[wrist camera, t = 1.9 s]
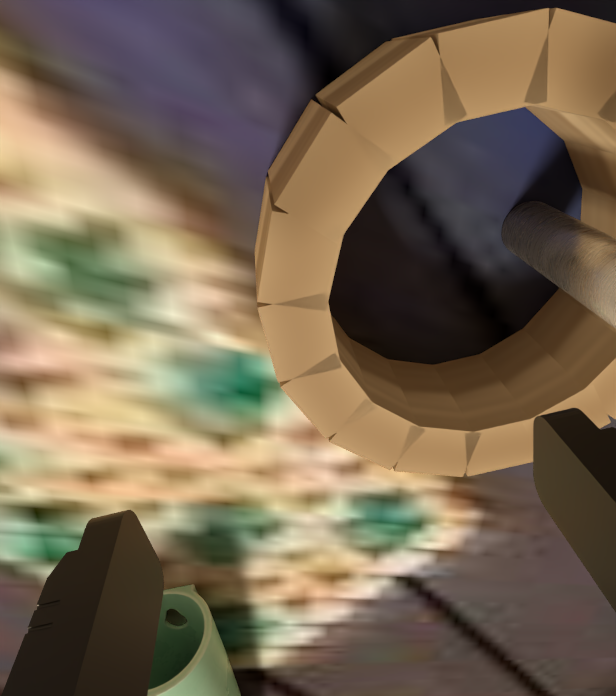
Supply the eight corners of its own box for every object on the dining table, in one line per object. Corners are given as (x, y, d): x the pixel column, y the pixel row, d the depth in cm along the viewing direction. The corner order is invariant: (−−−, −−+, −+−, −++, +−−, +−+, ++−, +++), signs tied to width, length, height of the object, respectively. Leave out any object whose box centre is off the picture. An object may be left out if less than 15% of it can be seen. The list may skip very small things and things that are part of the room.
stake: (500, 179, 18) (687, 270, 11) (556, 166, 18) (784, 248, 11) (502, 283, 20) (661, 424, 13) (552, 271, 20) (743, 405, 13)
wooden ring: (209, 81, 16) (197, 89, 12) (658, -24, 16) (792, -49, 12) (302, 433, 23) (313, 511, 19) (616, 362, 23) (693, 425, 19)
